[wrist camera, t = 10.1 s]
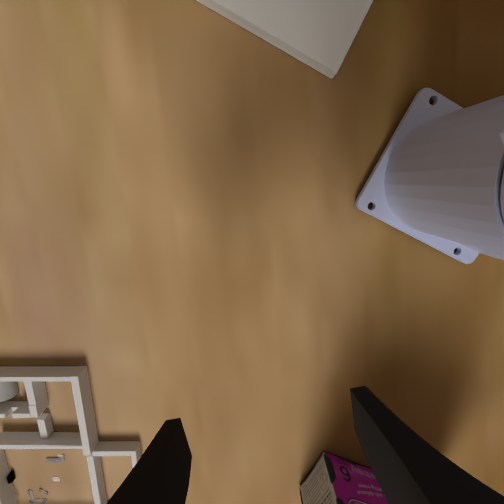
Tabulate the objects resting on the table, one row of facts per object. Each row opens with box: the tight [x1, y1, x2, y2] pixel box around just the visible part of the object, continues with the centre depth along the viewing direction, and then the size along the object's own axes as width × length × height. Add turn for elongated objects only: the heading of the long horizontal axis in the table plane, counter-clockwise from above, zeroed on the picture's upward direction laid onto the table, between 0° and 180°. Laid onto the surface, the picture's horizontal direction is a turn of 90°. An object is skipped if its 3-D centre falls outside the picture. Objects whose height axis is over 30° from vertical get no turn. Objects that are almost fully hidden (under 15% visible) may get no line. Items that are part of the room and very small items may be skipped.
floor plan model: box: [0, 366, 141, 504], centre depth 23 cm, size 19×25×2 cm
